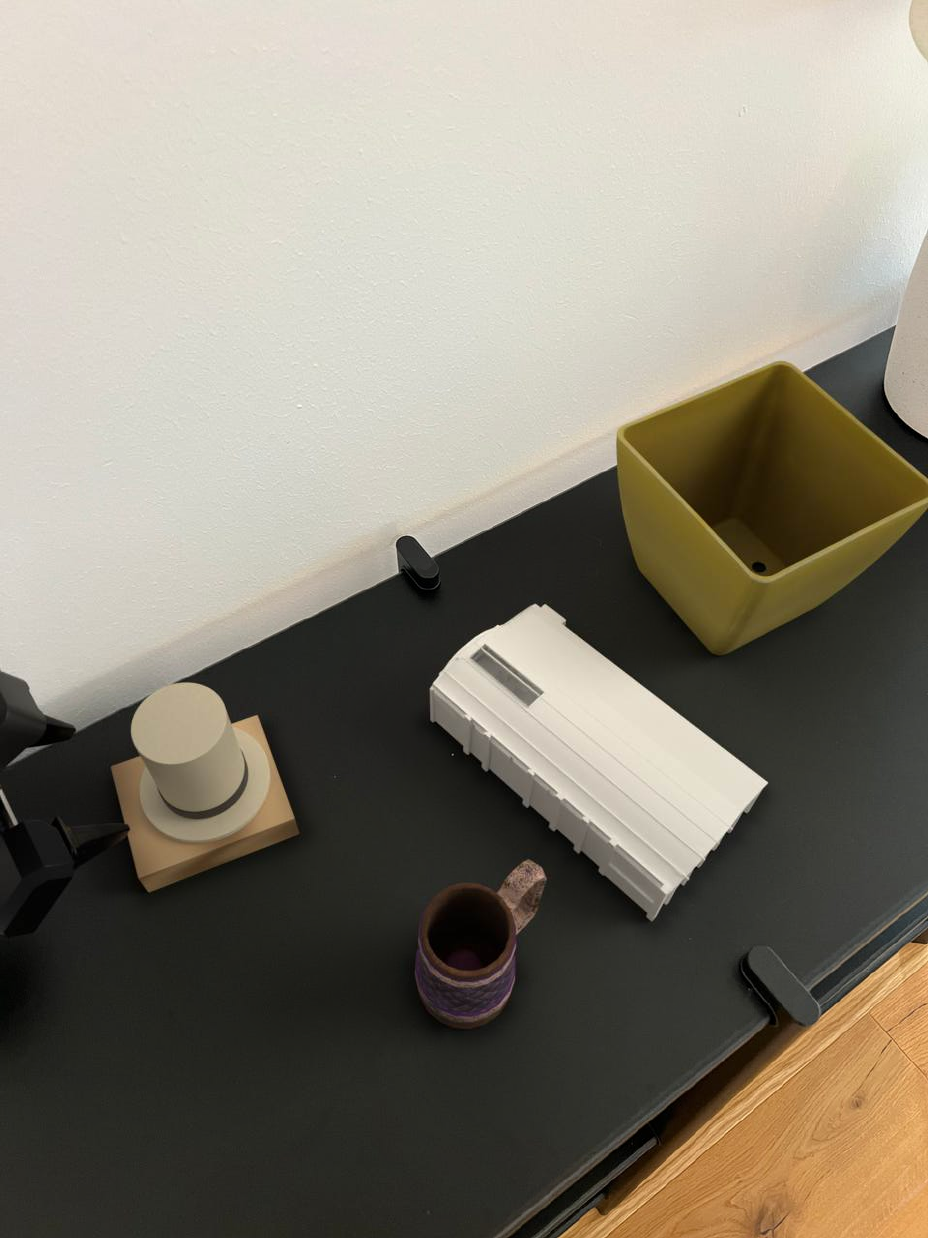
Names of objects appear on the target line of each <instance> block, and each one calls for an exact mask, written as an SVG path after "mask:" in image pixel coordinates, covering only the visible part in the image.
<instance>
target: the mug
mask: <svg viewBox="0 0 928 1238" xmlns="http://www.w3.org/2000/svg"><path fill="white" fill-rule="evenodd" d="M547 880H548V879H547V876H546V874H545V871H544V869H543V867H542V866H540V865H539V864H537V863H536V862H535V861H532V860H531V859H529V858H527V859H525V860H524V861H522V862H521V863H520V864H518V865H517V866H516V867H515V868H514V869H513V870H512V871H511V872H510V874H509V875H508V876H507V877H506V878H505V879H504V880H503V883H502V885H501V887H500V888H499V889H498V891H495V890H494V889H492V888H490V887H488V886H485V885H483V884H480V883H475V882H474V883H473V882H460V883H457V884H452V885H449V886H447V887H445V888H444V889H442V890H441V891H439V892H438V893H436V894H435V895H434V897H433V898H432V899H431V900H430V901H429V902H428V903H427V905H426V907H425V908H424V911H423V913H422V915H421V918H420V921H419V928H418V940H417V943H418V948H417V950H416V953H415V966H414V978H415V982H416V985H417V990H418V995H419V998H420V1000H421V1002H422V1004H423V1006H424V1007H425V1009H426V1011H427V1012H428V1013H429V1014H430V1015H431V1016H432V1017H433V1018H435V1020H437V1021H438V1022H439V1023H441V1024H443V1025H446V1026H448V1027H451V1028H452V1029H464V1030H471V1029H474V1028H479V1027H482V1026H485V1025H486V1024H488V1023H490V1022H491V1021H493V1020H494V1019H495V1018H497V1017H498V1016H499V1015H500V1013H501V1012H502V1010H504V1008H505V1007H506V1006H507V1004H508V1001H509V999H510V996H511V993H512V990H513V987H514V984H515V981H516V962H517V961H516V959H517V958H516V955H515V952H516V948H517V935H518V934H519V933H520V932H521V931H522V930H523V929H524V928H525V927H526V926H527V925H528V923H530V921H531V920H532V919H533V918H534V917H535V916H536V914H537V912H538V910H539V906H540V902H541V899H542V895H543V892H544V889H545V886H546V883H547Z"/></svg>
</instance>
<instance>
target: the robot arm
mask: <svg viewBox="0 0 928 1238" xmlns="http://www.w3.org/2000/svg"><path fill="white" fill-rule="evenodd" d="M30 690H31V689H30V686H29V684H28V682H27V681H26V680H24V679H23V678H19V677H18V676H15V675H13V674H9V673H7V672H5V671H2V670H1V669H0V773H1V772H2V771H3V770H4V769H6V768H7V767H8V765H10V764H11V763H12V762H13V761H14V760H15V759H17V758H18V757H19V756H20V755H21V754H22V753H23V752H24V751H25V750H26V749H31V748H39V747H44V746H50V745H54V744H58V743H62V742H67V741H70V740H71V739H72V738H73V737H74V735H75V734H76V732H77V728H76V726H75V725H74V724H71V723H69V722H66V721H64V720H60V719H57V718H55V717H52V716H50V715H48V714H45V713H43V711H42V710H41V709H40V708H39V707H38V704H37V703H36V701H35V698H34V697H33V695H32V693H31V691H30ZM2 788H3V786H2V785H1V783H0V938H8V939H9V938H15V937H20V936H26V935H30V934H34V933H35V932H36V931H37V929H38V928H39V927H40V925H41V924H42V922H43V921H44V919H45V918H46V917H47V915H48V914H49V912H50V911H51V910H52V908H53V907H54V905H55V904H56V902H57V901H58V899H59V898H60V897H61V895H62V893H64V891H65V889H66V888H67V887H68V885H69V883H70V882H71V881H72V879H73V878H74V873H75V872H74V871H76V870H77V869H78V868H80V867H81V866H83V865H84V864H86V863H87V862H89V861H91V860H93V859H94V858H95V857H97V856H98V855H100V854H102V853H103V852H105V851H107V850H108V849H110V848H112V847H113V846H114V845H116V844H118V843H120V842H121V841H122V840H124V839H125V838H126V837H127V836H128V835H127V834H128V832H129V831H130V827H129V825H128V824H125V823H102V824H101V823H100V824H88V825H76V826H67V824H66V823H65V822H64V821H63V819H62V818H61V817H60V816H59V815H55V816H54V817H53V819H52V820H51V821H50V823H47V822H46V821H43V820H41V819H31V820H22V821H21V822H18V819H17V818H16V817H15V813H14V812H13V810H12V808H11V806H10V803H9V801H8V799H7V798H6V795H5V793H4V790H3V789H2Z"/></svg>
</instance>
